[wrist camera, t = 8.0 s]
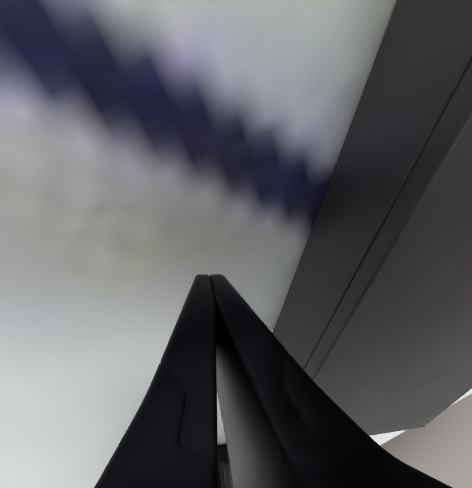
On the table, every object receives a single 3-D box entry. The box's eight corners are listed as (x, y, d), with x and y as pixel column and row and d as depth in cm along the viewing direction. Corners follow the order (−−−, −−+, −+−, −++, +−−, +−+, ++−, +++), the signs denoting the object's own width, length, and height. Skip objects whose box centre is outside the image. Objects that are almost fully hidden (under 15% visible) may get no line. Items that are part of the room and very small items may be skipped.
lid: (387, 370, 19) (423, 427, 16) (253, 383, 17) (269, 452, 14) (735, -39, 7) (1068, -87, 5) (460, -174, 5) (791, -426, 2)
